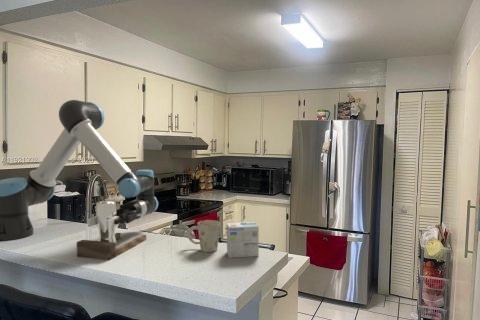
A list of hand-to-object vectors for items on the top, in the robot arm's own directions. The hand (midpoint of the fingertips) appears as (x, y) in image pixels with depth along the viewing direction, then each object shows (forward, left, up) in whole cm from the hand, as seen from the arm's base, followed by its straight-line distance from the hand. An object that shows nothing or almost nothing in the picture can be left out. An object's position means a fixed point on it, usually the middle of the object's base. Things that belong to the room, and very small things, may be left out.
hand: (98, 223), depth 122 cm
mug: (+20, +30, -11) cm, 38 cm away
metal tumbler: (-2, +4, -9) cm, 10 cm away
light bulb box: (+34, +36, -11) cm, 51 cm away
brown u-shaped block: (-5, +8, -11) cm, 15 cm away
